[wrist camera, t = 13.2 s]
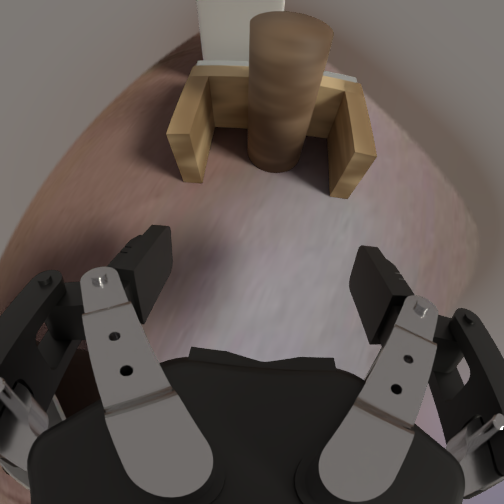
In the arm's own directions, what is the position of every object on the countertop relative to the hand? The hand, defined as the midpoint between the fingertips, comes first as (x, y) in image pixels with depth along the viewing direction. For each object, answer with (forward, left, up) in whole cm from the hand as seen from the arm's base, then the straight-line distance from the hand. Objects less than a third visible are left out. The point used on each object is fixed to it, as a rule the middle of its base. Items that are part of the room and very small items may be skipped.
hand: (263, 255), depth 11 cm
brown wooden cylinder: (0, +11, -8) cm, 14 cm away
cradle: (0, +11, -8) cm, 14 cm away
